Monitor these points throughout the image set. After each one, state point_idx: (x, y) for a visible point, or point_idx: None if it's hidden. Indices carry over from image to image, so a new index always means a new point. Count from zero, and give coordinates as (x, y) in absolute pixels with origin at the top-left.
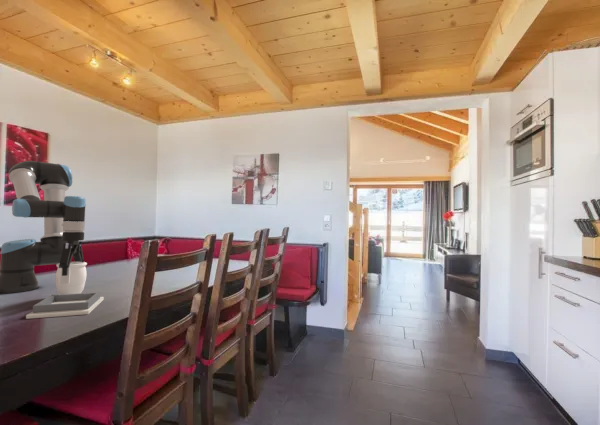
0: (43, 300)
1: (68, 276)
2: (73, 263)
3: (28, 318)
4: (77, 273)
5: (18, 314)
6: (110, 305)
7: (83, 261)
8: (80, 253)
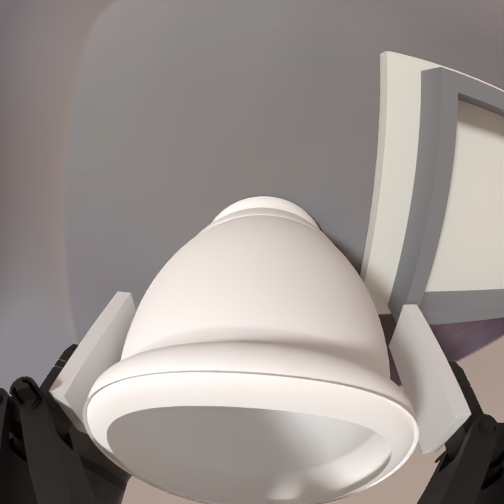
0: (486, 315)
1: (437, 348)
2: (121, 445)
3: None
4: (375, 322)
5: (466, 338)
6: (492, 36)
7: (25, 388)
8: (7, 489)
